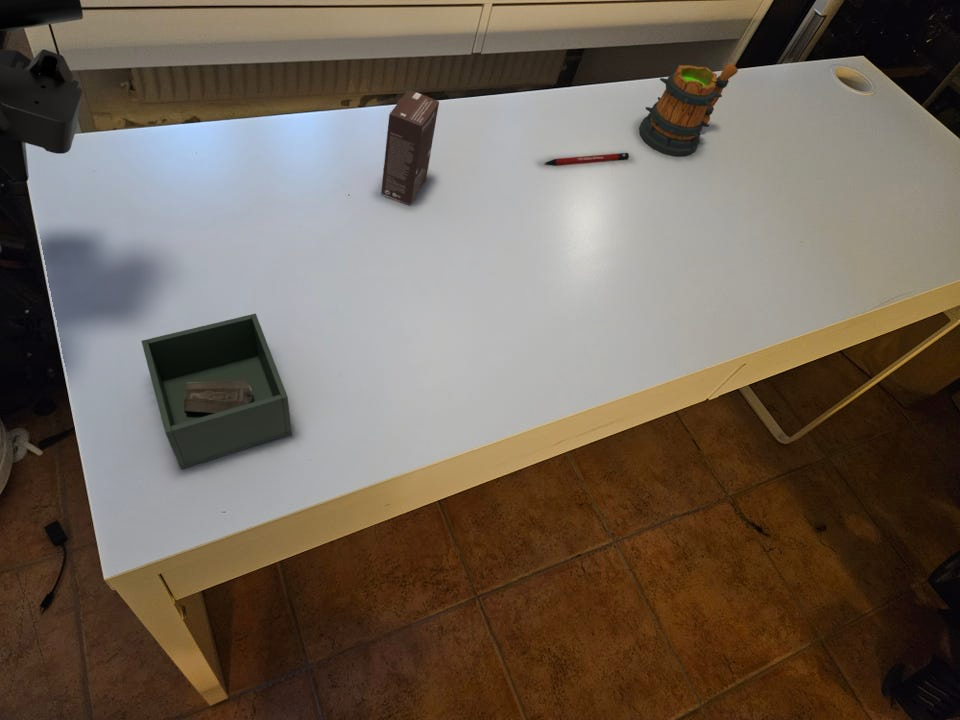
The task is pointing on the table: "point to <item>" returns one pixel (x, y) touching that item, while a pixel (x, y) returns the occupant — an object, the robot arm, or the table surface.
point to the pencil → (588, 159)
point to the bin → (217, 358)
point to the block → (216, 396)
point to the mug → (683, 109)
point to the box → (408, 146)
